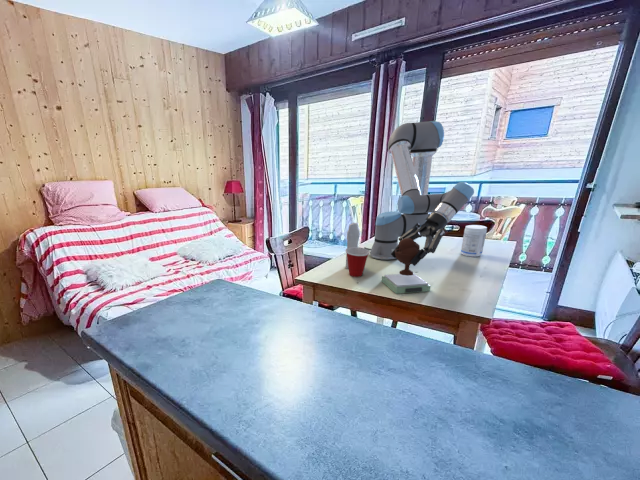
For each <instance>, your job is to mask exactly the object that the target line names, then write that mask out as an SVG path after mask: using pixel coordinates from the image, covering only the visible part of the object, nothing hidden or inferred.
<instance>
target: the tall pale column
mask: <svg viewBox="0 0 640 480" xmlns="http://www.w3.org/2000/svg"><path fill="white" fill-rule="evenodd" d="M360 230H361V228H360V225H359V222H352V223H350V224H349V225H348V230H347V231H346V243H347V244H346V249H347V248H351V247H359V237H360ZM345 269H348V270H349V268H348V260H347V253H346V254H345Z"/></svg>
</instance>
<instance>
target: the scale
mask: <svg viewBox="0 0 640 480" xmlns="http://www.w3.org/2000/svg"><path fill="white" fill-rule="evenodd" d="M381 282H382V283H383V284H384V285H385V286H386V287H388V289H389V290H391V291H392V292H393V293H394V294H396V295H398V294H410V293H411V294H412V293H422V292H423V293H424V292H431V285H430V284H429V283H428V282H427V281H426V280H424V279H423V278H421V277H419V276H418V275H416V274H415V273H414V272H413V275H409V276H406V275H401V274H400V273H394V274H393V273H392V274H384V275H383V276H381Z"/></svg>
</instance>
